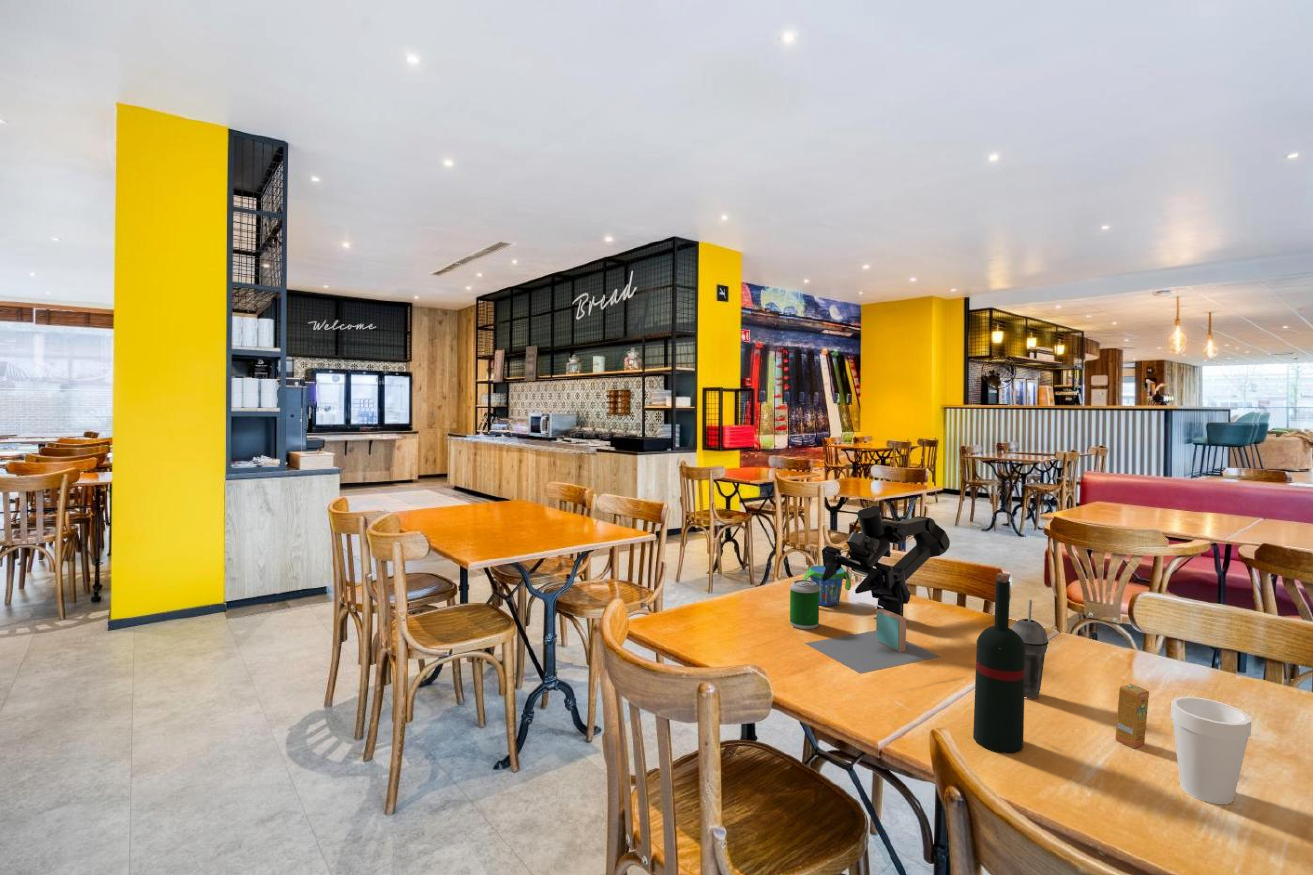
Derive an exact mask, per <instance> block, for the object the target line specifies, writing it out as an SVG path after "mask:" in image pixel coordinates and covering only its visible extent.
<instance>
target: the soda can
mask: <svg viewBox="0 0 1313 875" xmlns="http://www.w3.org/2000/svg"><path fill="white" fill-rule="evenodd" d="M789 588H790V589H789V592H790V593H789V625H791V626H792V628H793V629H800V630H813V629H814V630H815V629H816V628H818V626H819V623H820V622H819V620H820V618H819V617H820V605H819V586H818V585H816V583H815V582H813V581H811V580H810V579H809V580H808V579H807V580H803V579H797V580H793V583H791V584H790V587H789Z"/></svg>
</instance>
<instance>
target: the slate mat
mask: <svg viewBox="0 0 1313 875" xmlns="http://www.w3.org/2000/svg"><path fill="white" fill-rule="evenodd" d="M804 644H805V645H807V646H808V647H810V648H812V649H814V650H816V651H818V652H820V653H822V654H824V655H825V656H827V657H829V658H830V659H833V660H835V661H836V662H838V663H839V664H841V665H843V666H845V667H847V668H849V669H851V670H853V671H854V672H857V673H858V674H866V673H869V672H875V671H879V670H885V669H889V668H893V667H894V668H895V667H899V666H904V665H907V664H908V665H909V664H914V663H917V662H922V661H928V660H933V659H937V658H941V657H942V655H939V654H937V653H935V652H933V651H930V650H928V649H926V648H923V647H921V646H918V645H916V644H914V643H912V642H909V641H907V640H906V651H903V652H898V651H896V650H894V649H892V648H890V647H888V646H885V645H883V644H881V643H879V642H877V641H876V630H872V631H866V632H865V631H864V632H860V633H855V634H854V633H853V634H848V635H844V636H843V635H842V636H837V637H831V638H826V639H820V640H816V641H815V640H813V641H808V642H805V643H804Z"/></svg>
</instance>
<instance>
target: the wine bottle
mask: <svg viewBox="0 0 1313 875" xmlns="http://www.w3.org/2000/svg"><path fill="white" fill-rule="evenodd" d="M995 577H996V580H995V591H994V592H995V595H994V596H995V598H994V625H991V626H989V627H986V628H984V630H982V632H980V634H979V635H978V637H977V639H976V653H975V654H976V655H975V658H976V659H975V681H974V684H975V685H974V687H975V688H974V708H973V709H974V710H973V735H972V738H973V740H974V741H975V742H976V744H977V745H979V746H981V747H982V748H984V749H986V750H988V751H992V752H996V753H999V754H1009V755H1010V754H1011V755H1012V754H1013V755H1014V754H1018V753H1020V752H1022V750H1023V748H1024V726H1025V724H1024V722H1025V698H1024V692H1025V651H1026V646H1025V644H1024V641H1023V640H1022V638H1021V637H1020V636H1019V635H1018V634H1017V633H1016V632H1015V631H1013V630H1012V629H1010V628H1011V627H1009V624H1010V596H1011V595H1010V593H1011V581H1010V578H1011V574H1009V573H1006V572H1005V573H1003V572H999V573H995Z"/></svg>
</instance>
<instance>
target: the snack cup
mask: <svg viewBox="0 0 1313 875" xmlns="http://www.w3.org/2000/svg"><path fill="white" fill-rule="evenodd" d="M824 571H825V567H824V564H822V565H821V564H820V565H813V566H810V567H809V568H808V570H807V571H806V573H805V574H804V576H803V577H802V580H808V579H809V581H813V582H815V583H816V585H818V586H819V606H824V607H830V606H832V607H833V606H838V605H839V602H840V599H841V594H842V587H843V580H844V578H845V584H844V589H845V590H847V591H851V586H852V582H851V577H850V575H849V573H848V572H847V571H845V570H844V568H842V567H841V568H840V569H839V570H838V571H837V573H836V574H835V575H833V576H832V577H831V578H829V579H828V580H826V581H822V577H823V574H824Z"/></svg>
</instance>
